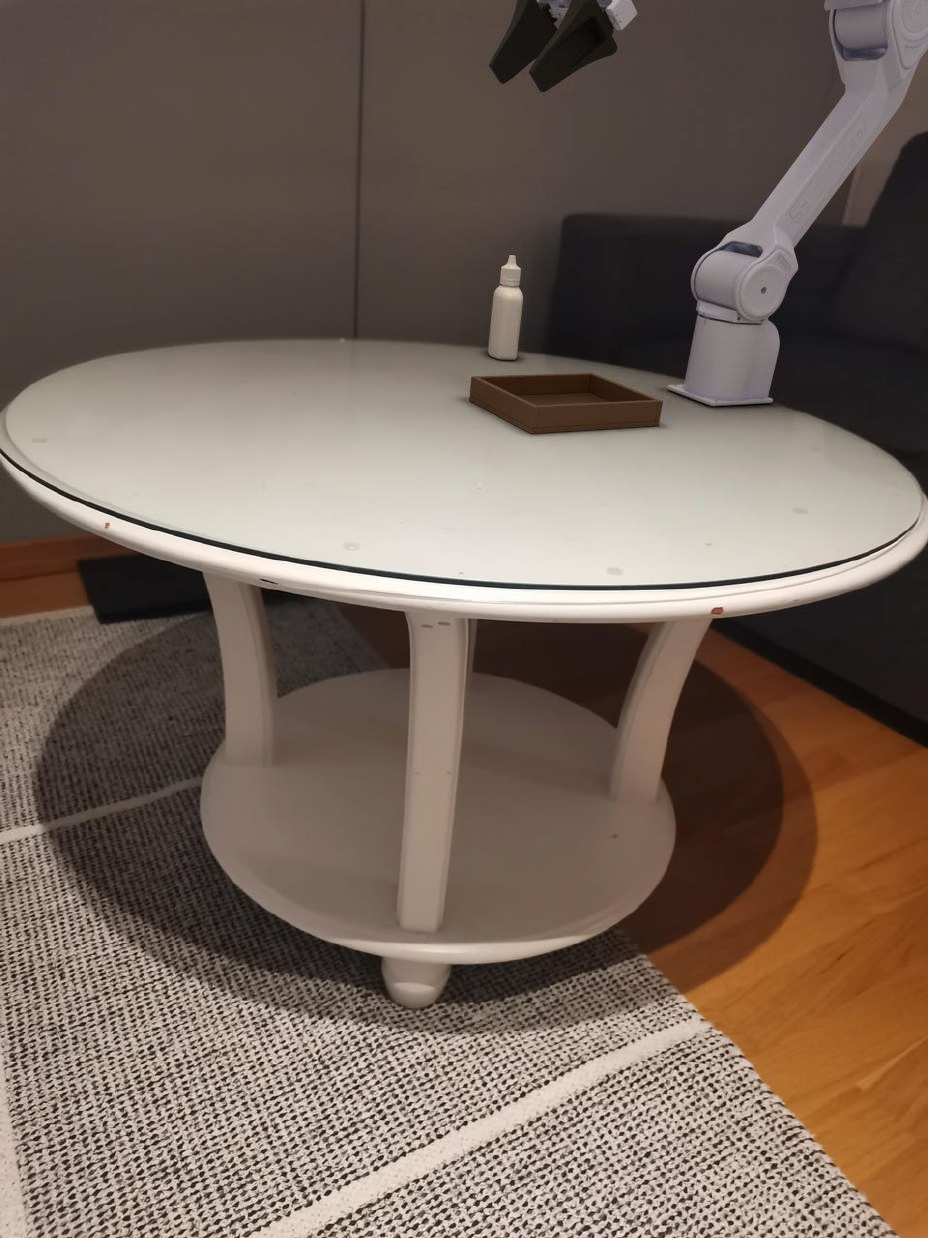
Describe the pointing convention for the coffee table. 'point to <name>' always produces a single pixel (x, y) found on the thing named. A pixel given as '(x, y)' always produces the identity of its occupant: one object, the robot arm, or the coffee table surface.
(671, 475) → the coffee table surface
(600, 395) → the tray
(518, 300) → the eye dropper bottle
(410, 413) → the coffee table surface
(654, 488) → the coffee table surface
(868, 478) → the coffee table surface
